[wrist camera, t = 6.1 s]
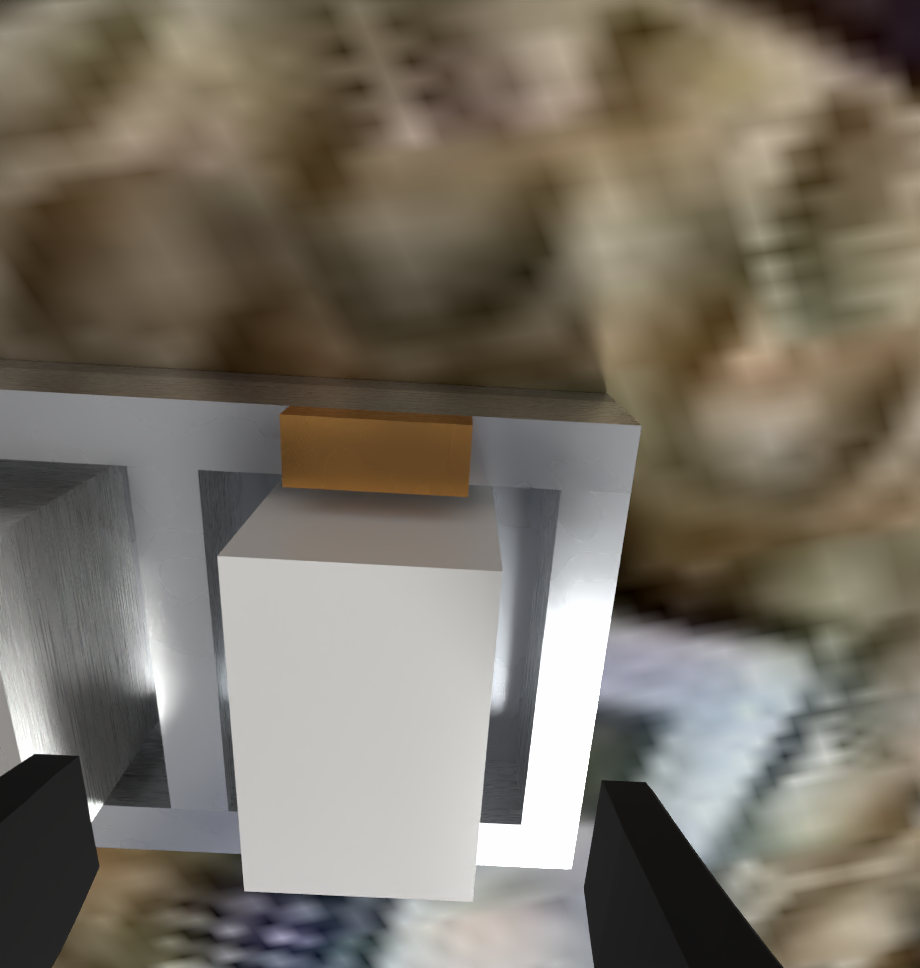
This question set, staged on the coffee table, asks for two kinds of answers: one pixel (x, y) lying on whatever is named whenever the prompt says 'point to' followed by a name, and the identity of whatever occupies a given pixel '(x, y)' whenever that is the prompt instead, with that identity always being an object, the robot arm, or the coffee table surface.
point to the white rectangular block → (361, 689)
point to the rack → (217, 518)
